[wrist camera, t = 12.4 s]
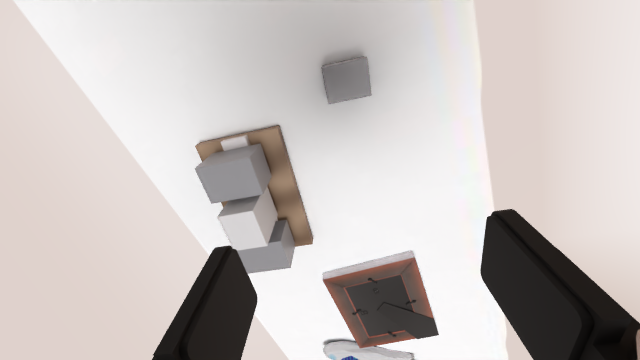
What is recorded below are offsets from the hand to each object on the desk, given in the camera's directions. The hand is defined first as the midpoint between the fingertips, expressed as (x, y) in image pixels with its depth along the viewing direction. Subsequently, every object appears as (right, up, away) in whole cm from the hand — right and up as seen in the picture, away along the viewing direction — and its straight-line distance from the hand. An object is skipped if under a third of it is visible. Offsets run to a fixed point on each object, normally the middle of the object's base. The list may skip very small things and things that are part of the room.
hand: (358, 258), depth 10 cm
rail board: (-11, +1, +31) cm, 33 cm away
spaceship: (+10, -35, +49) cm, 61 cm away
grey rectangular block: (+2, +16, +23) cm, 28 cm away
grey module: (-11, 0, +29) cm, 31 cm away
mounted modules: (-11, 0, +29) cm, 31 cm away
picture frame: (+11, -20, +42) cm, 48 cm away
